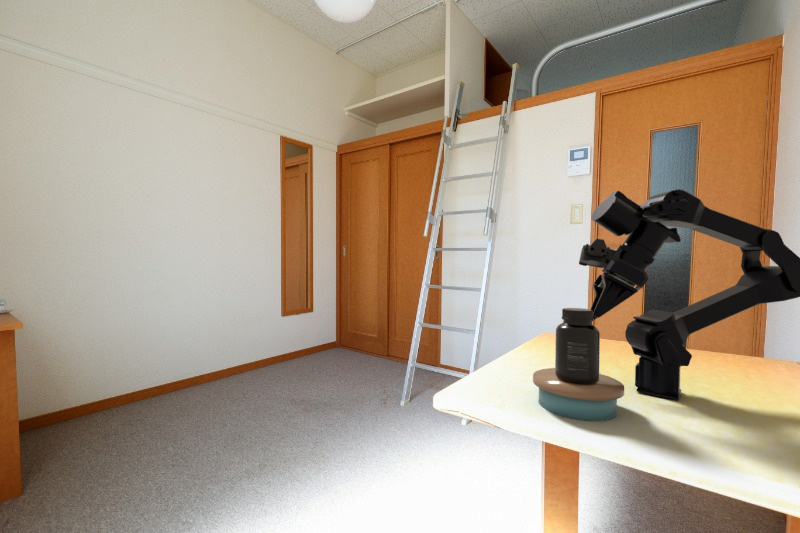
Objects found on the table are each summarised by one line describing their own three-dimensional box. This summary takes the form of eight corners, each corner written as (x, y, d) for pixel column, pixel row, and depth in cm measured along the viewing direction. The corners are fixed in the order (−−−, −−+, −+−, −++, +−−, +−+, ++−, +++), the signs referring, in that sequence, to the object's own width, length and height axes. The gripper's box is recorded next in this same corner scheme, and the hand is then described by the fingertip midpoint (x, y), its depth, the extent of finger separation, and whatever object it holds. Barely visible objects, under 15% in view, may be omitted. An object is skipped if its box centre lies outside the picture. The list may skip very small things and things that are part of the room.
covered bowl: (630, 404, 65) (631, 378, 65) (614, 432, 54) (614, 401, 54) (548, 386, 74) (548, 363, 74) (519, 407, 63) (520, 380, 63)
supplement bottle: (607, 381, 63) (609, 310, 63) (584, 388, 59) (585, 313, 59) (569, 371, 69) (571, 305, 69) (546, 377, 65) (547, 308, 65)
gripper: (591, 242, 83) (551, 301, 83) (604, 214, 66) (554, 288, 66) (642, 268, 78) (600, 330, 79) (671, 245, 61) (617, 324, 62)
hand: (592, 318), depth 71 cm, fingers open, 9 cm apart
